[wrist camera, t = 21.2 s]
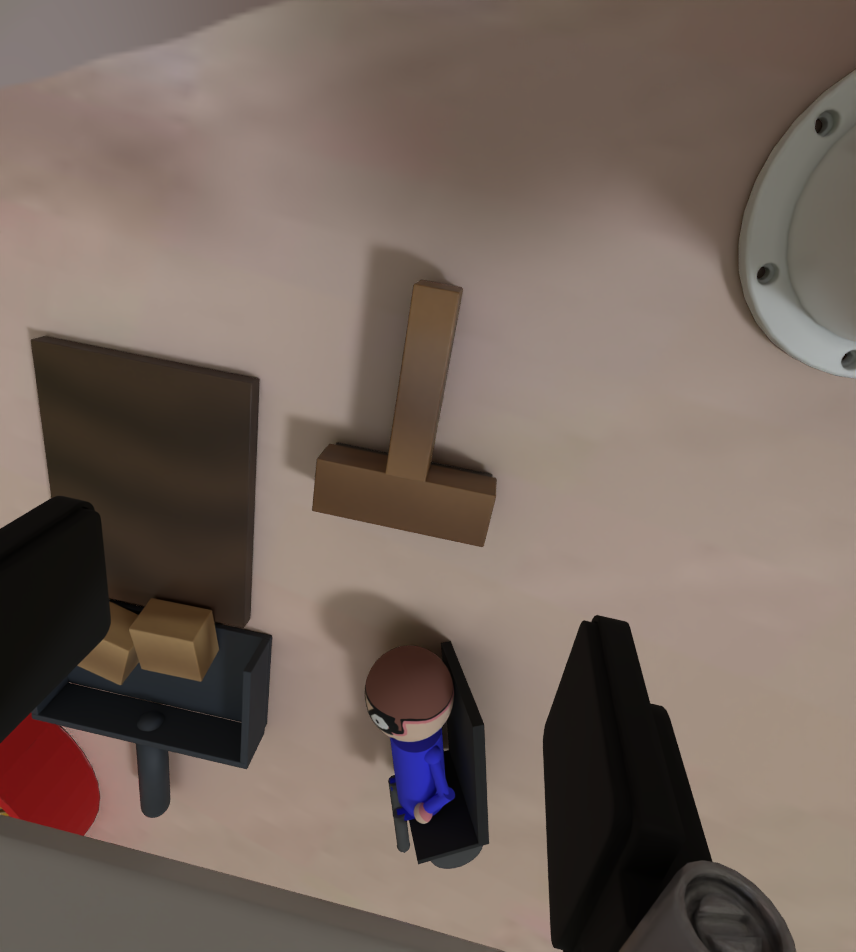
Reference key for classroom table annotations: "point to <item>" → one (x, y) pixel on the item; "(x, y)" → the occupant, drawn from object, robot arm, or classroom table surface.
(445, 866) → the character figurine
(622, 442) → the classroom table surface
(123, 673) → the cork chip
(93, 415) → the tray
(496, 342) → the classroom table surface
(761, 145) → the classroom table surface
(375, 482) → the brush
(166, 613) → the cork chip
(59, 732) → the toy clock
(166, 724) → the dustpan
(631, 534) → the classroom table surface
